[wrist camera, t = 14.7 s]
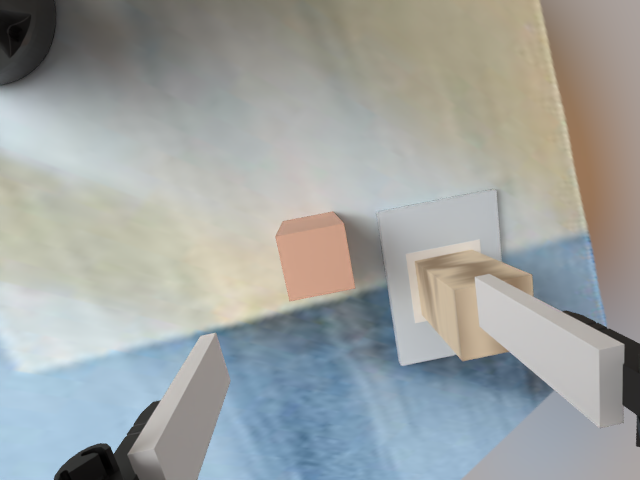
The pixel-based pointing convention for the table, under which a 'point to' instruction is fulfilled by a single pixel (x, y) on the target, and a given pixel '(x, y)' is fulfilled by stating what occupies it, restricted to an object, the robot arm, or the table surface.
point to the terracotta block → (314, 256)
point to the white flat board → (426, 242)
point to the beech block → (462, 298)
